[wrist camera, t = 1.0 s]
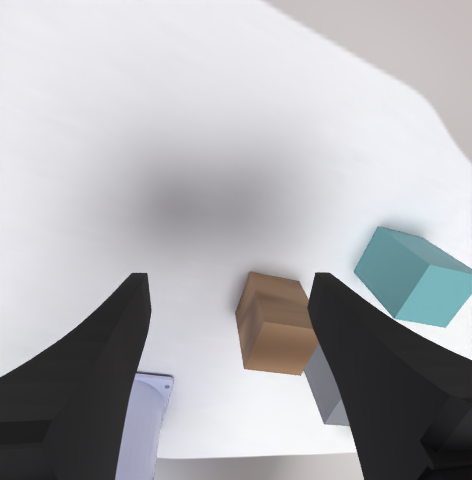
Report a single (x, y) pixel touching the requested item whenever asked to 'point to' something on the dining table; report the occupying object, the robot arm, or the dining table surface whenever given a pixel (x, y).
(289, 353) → the walnut block
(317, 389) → the charcoal block
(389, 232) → the teal block
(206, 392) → the dining table surface
